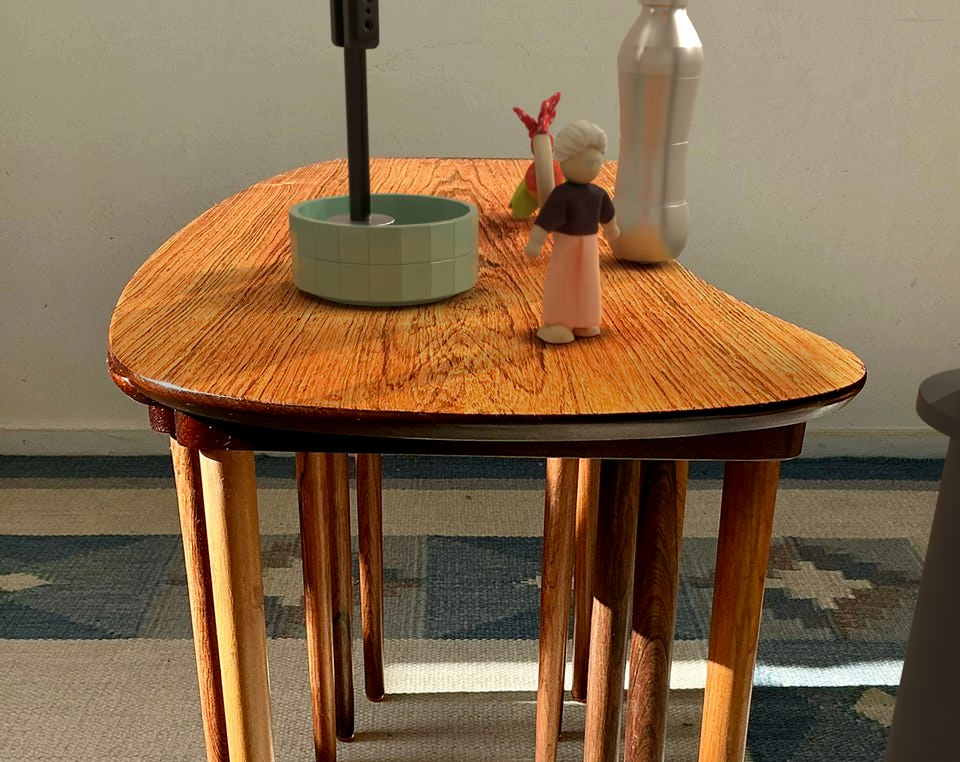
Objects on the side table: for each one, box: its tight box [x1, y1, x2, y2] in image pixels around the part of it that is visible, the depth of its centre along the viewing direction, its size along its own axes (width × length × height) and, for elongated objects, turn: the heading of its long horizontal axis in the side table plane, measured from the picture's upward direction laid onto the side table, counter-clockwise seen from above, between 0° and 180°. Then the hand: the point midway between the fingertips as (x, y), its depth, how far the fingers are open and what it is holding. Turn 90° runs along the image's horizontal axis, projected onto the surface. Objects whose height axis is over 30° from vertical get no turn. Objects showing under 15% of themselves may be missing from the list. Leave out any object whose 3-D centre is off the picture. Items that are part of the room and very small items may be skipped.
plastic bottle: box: [607, 0, 705, 265], centre depth 92 cm, size 6×7×20 cm
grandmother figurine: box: [524, 119, 620, 344], centre depth 75 cm, size 8×4×13 cm, turn 143°
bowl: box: [288, 192, 480, 307], centre depth 87 cm, size 13×13×6 cm
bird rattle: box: [507, 91, 567, 221], centre depth 108 cm, size 6×11×9 cm
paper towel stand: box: [327, 0, 395, 225], centre depth 83 cm, size 5×5×19 cm
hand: (355, 46), depth 81 cm, fingers closed on paper towel stand, 1 cm apart
